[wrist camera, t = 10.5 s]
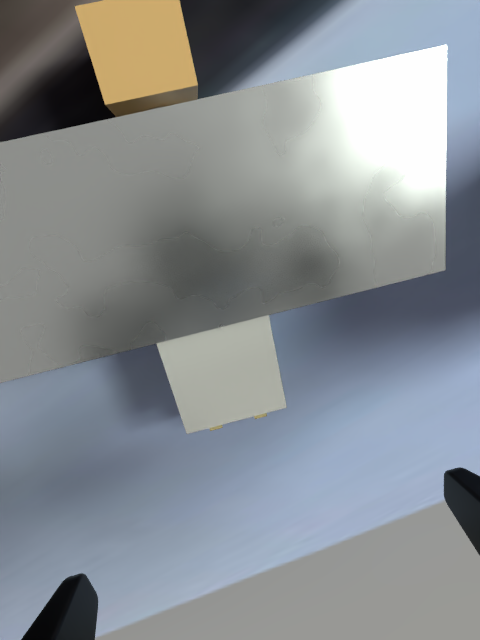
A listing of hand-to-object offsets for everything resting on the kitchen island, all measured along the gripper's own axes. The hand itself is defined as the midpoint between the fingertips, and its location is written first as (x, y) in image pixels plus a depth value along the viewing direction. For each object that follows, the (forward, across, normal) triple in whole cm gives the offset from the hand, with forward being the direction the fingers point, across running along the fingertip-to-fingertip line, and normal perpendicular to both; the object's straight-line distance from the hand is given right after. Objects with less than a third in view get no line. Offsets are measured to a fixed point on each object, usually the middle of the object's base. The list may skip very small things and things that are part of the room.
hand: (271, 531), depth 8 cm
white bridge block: (+10, 0, -7) cm, 12 cm away
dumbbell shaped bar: (+10, 0, -6) cm, 11 cm away
